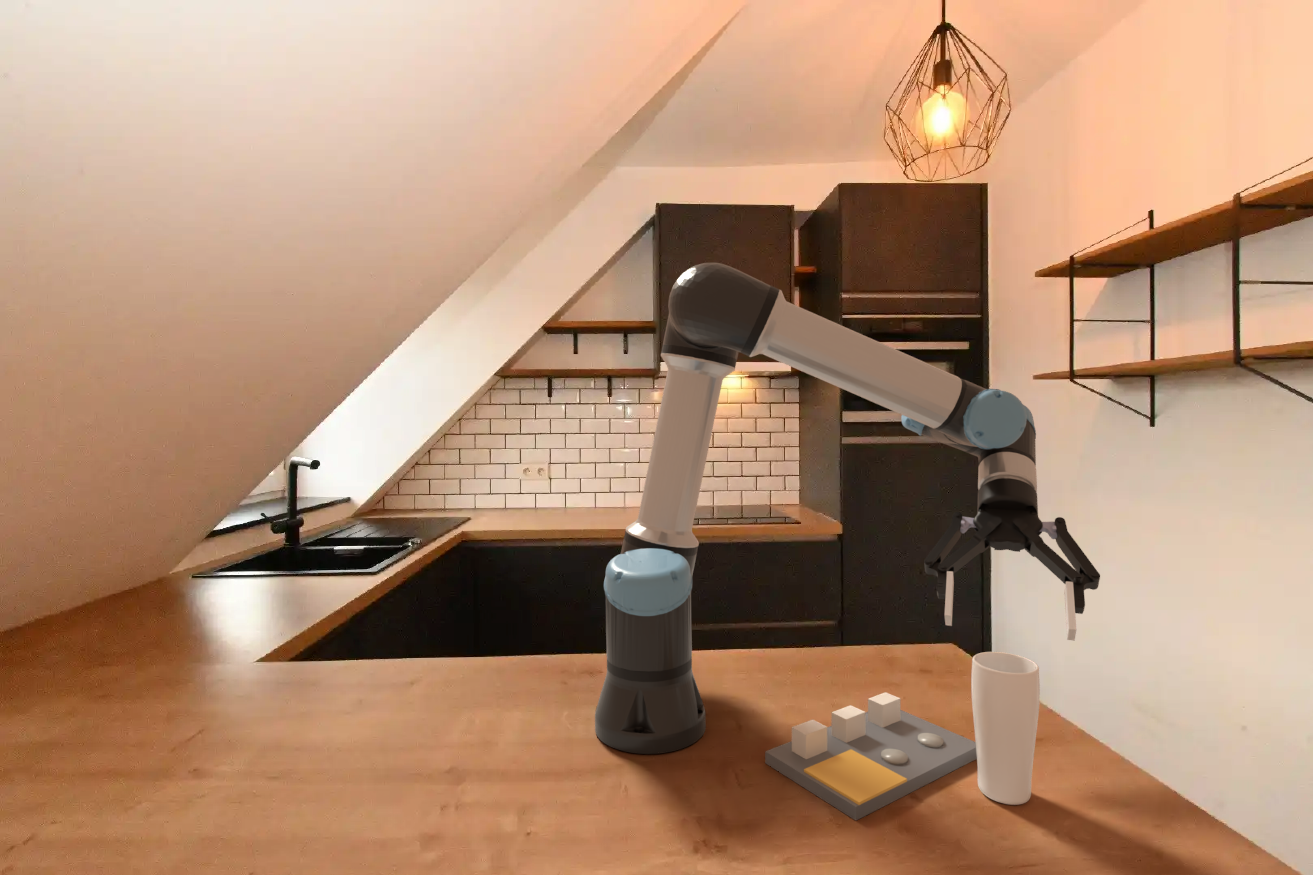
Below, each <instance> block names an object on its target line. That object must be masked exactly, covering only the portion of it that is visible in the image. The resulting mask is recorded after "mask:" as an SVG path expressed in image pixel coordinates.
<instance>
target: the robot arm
mask: <svg viewBox="0 0 1313 875" xmlns="http://www.w3.org/2000/svg"><path fill="white" fill-rule="evenodd" d="M667 306H668V316H667V321H666V327H665V332H664V337H663V343H662V347H661V352H660V357H661V359H662V360H663V362H664V363H665V365H666V368H667V372H666V377H665V381H664V382H665V383H664V387H663V390H662V391H663V392H662V397H661V401H660V408H659V412H658V417H657V421H656V427H655V432H654V437H653V442H652V447H651V451H650V456H649V461H648V465H647V466H648V467H647V471H646V475H645V476H646V477H645V481H644V486H643V491H642V495H641V501H640V506H639V510H638V515H637V519H636V520H635V521H634V522H632V523H630V524H629V525H627V526H626V527H625V531H624V537H623V542H622V544H621V545H622V546H621V551H620V554H617V555H615V556H614V557H613V558H611V559H610V561H609V562H608V563H607V565H606V568H605V577H604V581H603V591H604V595H605V633H606V634H605V636H606V638H605V639H606V645H605V646H606V675H605V678H604V681H603V684H602V687H601V691H600V695H599V698H598V701H597V706H596V708H595V712H594V730H595V735H596V736H597V737H598V739H599V740H600V741H601V742H602V743H603V744H605V745H607V746H609V747H611V748H612V749H614V750H615V749H616V750H619V751H621V752H626V753H632V754H640V755H641V754H644V755H654V754H655V755H656V754H658V755H659V754H665V753H671V752H675V751H678V750H679V751H680V750H681V749H684V748H687V747H689V746H691V745H693V744H695V743H697V741H698V740H700V739H701V738H702V736H704V734H705V731H706V727H707V726H706V710H705V705H704V703H703V699H702V697H701V693H700V691H699V688H698V685H697V682H696V679H695V676H694V673H693V663H692V662H693V659H692V658H693V647H692V646H693V644H692V643H693V641H692V639H693V638H692V634H693V633H692V632H693V631H692V590H693V573H694V569H695V565H696V564H695V563H696V559H697V554H698V549H699V544H700V542H699V541H698V538H697V537H696V536H695V534H694V533H693V525H694V521H695V514H696V511H697V506H698V502H699V497H700V491H701V487H702V486H701V485H702V481H703V476H704V472H705V468H706V462H707V457H708V453H709V448H710V442H711V438H712V434H713V433H712V432H713V428H714V425H715V424H714V423H715V418H716V414H717V410H718V403H719V400H720V399H719V398H720V394H721V390H722V384H723V380H724V379H725V378H726V377H728V376H729V375H730V374H732V373H733V372H734V371H735V370H736V365H737V362H738V361H737V360H738V356H739V353H741V354H743V355H746V356H747V357H749V358H752V357H755V356H757V355H764V356H765V357H768V358H770V359H773V360H775V361H778V362H780V363H782V364H784V365H786V366H788V367H791V368H794V369H796V370H798V371H801V372H802V373H805V374H807V375H809V376H812V377H815V378H817V379H819V380H821V381H823V382H826V383H828V384H830V385H833V386H835V387H838V388H840V389H841V390H844V391H847V392H848V393H851V394H854V395H856V396H858V397H861V398H862V399H865V400H867V401H869V402H872V403H874V404H876V405H879V406H881V407H883V408H885V409H887V410H888V409H889V410H890V411H893V412H895V413H896V414H899V415H901V417H900V418H901V424H902V426H903V427H904V428H905V429H907V430H909V431H912V432H913V433H916V434H918V436H920V437H921V436H923V437H926V438H929V439H931V440H934V441H936V442H939V443H942V444H944V445H947V446H949V447H952V448H955V449H958V450H960V451H962V452H965V453H966V454H970V455H972V456H975V457H977V458H978V470H977V471H978V473H977V474H978V475H977V476H978V477H977V478H978V479H977V489H978V491H977V512H976V515H975V516H974V517H969V516H963V513H961V512H960V511H955V512H953V514H952V518H951V523H950V525H949V526H948V528H947V529H946V530H945V531H944V533H943V534H942V536H940V538H939V540H938V541H937V543H935V545H934V547H932V549H930V551H929V553H928V555H927V556H926V557H925V558H924V560H923V562H924V565H923V566H924V572H925V574H927V575H930V576H931V575H933V576H935V577H936V578H937V581H936V595H937V598H938V599H939V600H945V601H944V603H945V604H944V622H945V626H949V627H952V626H953V610H954V609H953V608H954V607H953V606H954V605H953V604H954V588H955V587H954V584H955V582H954V581H955V580H954V575H955V573H957V572H958V571H959V570H961V569H962V568H963V567H964V566H966V564H968V563H969V562H971V560H973V559H974V558H976V556H978V555H979V554H982V553H984V552H985V551H986V550H988V549H989V548H993V549H994V551H1007V550H1008V551H1010V552H1021V551H1023V550H1025V551H1026V552H1027V553H1028V554H1029V555H1030V556H1031V557H1034V558H1036V559H1037V560H1038V561H1039V562H1040V563H1041V564H1042V565H1043V566H1044V567H1045V568H1047V569H1048V570H1049V571H1050V572H1051V573H1052V574H1053V575H1055V576H1056V577H1057V578H1058V579H1059V580H1060V581H1061V582H1062V583H1063V584H1064V594H1063V595H1064V607H1065V608H1064V609H1065V623H1066V624H1065V625H1066V640H1067V641H1075V640H1076V636H1077V635H1076V634H1077V619H1076V614H1079V615H1083V613H1084V611H1085V606H1086V600H1085V590H1089V589H1090V590H1093V591H1094V590H1097V589H1098V588H1099V584H1100V580H1101V574H1100V572H1098V569H1096V567H1095V566H1094V565H1093V563H1092V562H1091V561H1090V559H1089V558H1088V556H1087V555H1086V554H1085V553H1084V551H1083V549H1082V548H1081V547H1080V546H1079V544H1078V543H1077V542H1076V540H1075V539H1074V538H1073V536H1072V535H1071V533H1070V532H1069V531H1068V527H1067V522H1066V520H1065V518H1064V517H1060V516H1058V517H1056V518H1055V519H1054V521H1042V520H1041V519H1040V517H1039V508H1038V506H1039V505H1038V481H1037V480H1038V479H1037V478H1038V477H1037V476H1038V475H1037V466H1036V465H1037V464H1036V463H1037V460H1036V459H1037V458H1036V457H1037V456H1036V455H1037V454H1036V452H1037V451H1036V436H1037V432H1036V427H1035V422H1034V417H1033V414H1032V411H1031V410H1030V409H1029V408H1028V407H1027V406H1026V405H1025V404H1024V403H1023V402H1022V401H1021V400H1020V399H1019V398H1018V397H1017V396H1016V395H1014V394H1013V393H1011V392H1008V391H1007V390H1001V389H998V388H984V387H982V386H981V385H977V384H975V383H974V382H970V381H969V380H966V379H963V378H961V377H959V376H957V375H955V374H952V373H950V372H948V371H946V370H944V369H941V368H939V367H937V366H934V365H932V364H930V363H928V362H926V361H923V360H921V359H918V358H916V357H915V356H911V355H909V354H907V353H905V352H902V351H900V350H898V349H897V348H894V347H891V346H889V345H887V344H884V343H882V342H880V341H878V340H876V339H873V338H871V337H868V336H866V335H863V333H860V332H857V331H855V330H852V329H850V328H848V327H845V326H843V325H842V324H839V323H838V322H835V321H832V320H829V319H828V318H825V317H823V316H821V315H818V314H816V313H814V312H812V311H809V310H808V309H805V308H803V307H800V306H798V305H796V304H794V303H791V302H790V301H787V300H786V298H785V296H784V294H783V290H782V289H779V288H778V287H775V286H773V285H770V284H768V283H765V282H764V281H762V280H760V279H757V278H755V277H753V276H751V275H749V274H748V273H745V272H743V271H741V270H739V269H737V268H734V267H732V266H730V265H726V264H724V263H719V262H704V263H703V262H702V263H700V264H696V265H694V266H691V267H690V268H688V269H686V270H685V271H684V272H682V273H681V274H680V275H679V277H678V278H677V279H676V281H675V282H674V284H673V286H672V288H671V291H670V292H669V297H668V304H667ZM970 528H973V530H974V531H975V533H973V536H972V537H971V538H970V539H968V541H966V542H965V543H964V544H962V545H961V546H960V547H958V549H956V550H955V551H954V552H952V553H951V554H950V555H949V553H950V552H951V551H952V549H953V547H954V546H955V545H956V544H957V543H958V541H959V539H960V538H961V536H962V534H965V533H966V532H967V531H968V530H969V529H970ZM1043 532H1044V533H1047V534H1048V536H1049V538H1051V539H1052V540H1055V542H1056V545H1057V546H1058V548H1059V549H1060V551H1061V552H1062V553H1063V554H1064V556H1065V557H1066V559H1067V560H1068V561H1069V563H1070V564H1069V563H1068V562H1067V561H1065V559H1063V558H1062V557H1061V556H1060V555H1059V554H1058V553H1057V552H1056V551H1054V550H1053V548H1051V547H1050V546H1049V545H1048V544H1046V543H1045V542H1044V540H1043V538H1042V537H1041V536H1040V535H1041V534H1042V533H1043ZM948 555H949V556H948Z"/></svg>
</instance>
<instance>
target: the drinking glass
mask: <svg viewBox="0 0 1313 875" xmlns="http://www.w3.org/2000/svg"><path fill="white" fill-rule="evenodd" d="M970 676H971V679H970V680H971V682H970V683H971V685H970V686H971V687H970V689H971V690H970V691H971V705H972V706H971V707H972V715H973V716H972V718H973V726H974V727H973V728H974V739H975V740H974V742H976V754H977V759H976V763H977V786H978V788H979V790H980V792H981V793H982V794H984V796H985V797H987V798H989V799H991V800H992V801H995V802H996V803H997V802H998V803H999V804H1004V805H1008V806H1009V805H1011V806H1016V805H1017V806H1018V805H1023V804H1026V803H1027V802H1029V800H1030V799H1031V797H1032V778H1033V766H1034V757H1035V747H1036V741H1037V740H1036V739H1037V738H1036V737H1037V732H1038V722H1039V711H1040V698H1041V697H1040V695H1041V692H1040V691H1041V689H1040V688H1041V687H1040V686H1041V685H1040V683H1041V682H1040V667H1039V666H1038V664H1037V663H1036V662H1034V661H1033V660H1031V659H1030V658H1027V657H1024V656H1022V655H1018V654H1014V653H1010V652H1002V651H1001V652H1000V651H985V652H980V653H976V654H975V655H973V656H972V659H971V675H970Z"/></svg>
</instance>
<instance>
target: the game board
mask: <svg viewBox="0 0 1313 875" xmlns="http://www.w3.org/2000/svg"><path fill="white" fill-rule="evenodd" d="M764 753H765V754H764V758H765V759H764V760H765V764H766V765H768V766H769V767H770V766H771V767H770V768H772V769H774V770H775V771H777V772H778V771H779V772H778V773H780V774H781V775H783V776H784V777H787V778H788V779H790V780H791V781H793V782H794V783H796V784H797V785H798V786H800V787H803V789H806V790H807V791H808V792H810V793H812V794H813V795H814V796H816V797H818V798H820V799H821V800H822V801H824V802H825V803H827V804H829V805H830V806H832V807H834V808H835V809H837V810H838V811H840V812H842V813H843V814H845V815H846V816H848V817H849V818H851V819H853V820H854V821H858V820H860V819H862V818H864V817H866V816H867V815H870V814H872V813H874V812H876V811H877V810H880V809H882V808H883V807H886V806H887V805H890V804H891V803H893V802H896V801H897V800H899V799H901V798H903V797H905V796H907V795H908V794H909V795H910V794H911V793H912V792H915V791H917V790H918V789H921V788H922V787H924V786H926V785H928V784H930V783H933V782H934V781H936V780H938V779H940V778H942V777H944V776H946V775H948V774H949V773H951V772H953V771H956V770H958V769H960V768H962V767H963V766H965V765H967V764H969V763H971V762H973V761H975V760H977V754H976V742H975V740H972V739H971V738H970V739H969V738H967V737H964V736H962V735H960V734H958V733H955V732H954V731H950V730H949V729H946V728H944V727H941V726H939V725H937V724H935V723H932V722H930V721H928V720H925V719H923V718H921V717H918V716H916V715H914V714H912V713H909V712H906V711H904V710H902V709H901V697H898V696H896V695H893V694H890V693H889V692H887V691H886V692H882V693H880V694H877V695H874V696H872V697H869V698H867V711H865V710H862V709H860V708H858V707H857V706H856V707H855V706H853V705H851V704H850V705H847V706H845V707H842V708H839V709H837V710H834V711H831V725H829V726H826V725H824V724H822V723H821V722H819V721H817V720H815V719H814V718H813V719H809V720H807V721H805V722H802V723H799V724H796V725H793V726H792V727H791V741H789V742H786V743H784V744H780V745H778V746H775V747H773V748H771V749H768V750H765V752H764Z"/></svg>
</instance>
